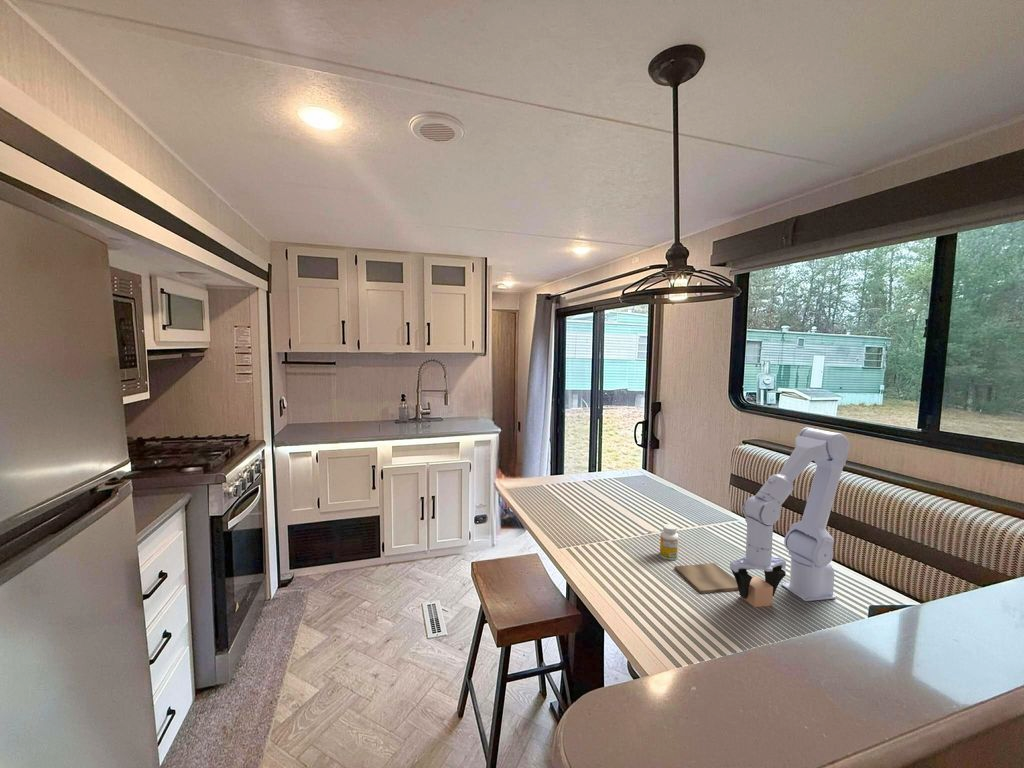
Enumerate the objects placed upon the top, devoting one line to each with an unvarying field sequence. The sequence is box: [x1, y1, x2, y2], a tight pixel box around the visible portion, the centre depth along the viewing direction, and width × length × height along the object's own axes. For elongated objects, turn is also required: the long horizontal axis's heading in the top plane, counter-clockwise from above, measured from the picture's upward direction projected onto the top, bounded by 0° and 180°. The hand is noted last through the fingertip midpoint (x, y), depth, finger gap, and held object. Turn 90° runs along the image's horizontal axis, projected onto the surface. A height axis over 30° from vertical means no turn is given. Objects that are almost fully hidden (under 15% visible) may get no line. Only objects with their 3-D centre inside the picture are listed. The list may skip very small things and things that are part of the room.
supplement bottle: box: [659, 523, 680, 561], centre depth 131 cm, size 5×5×10 cm
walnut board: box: [673, 562, 739, 594], centre depth 118 cm, size 13×13×1 cm
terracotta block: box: [744, 576, 774, 608], centre depth 108 cm, size 5×5×5 cm
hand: (756, 595), depth 108 cm, fingers open, 7 cm apart
